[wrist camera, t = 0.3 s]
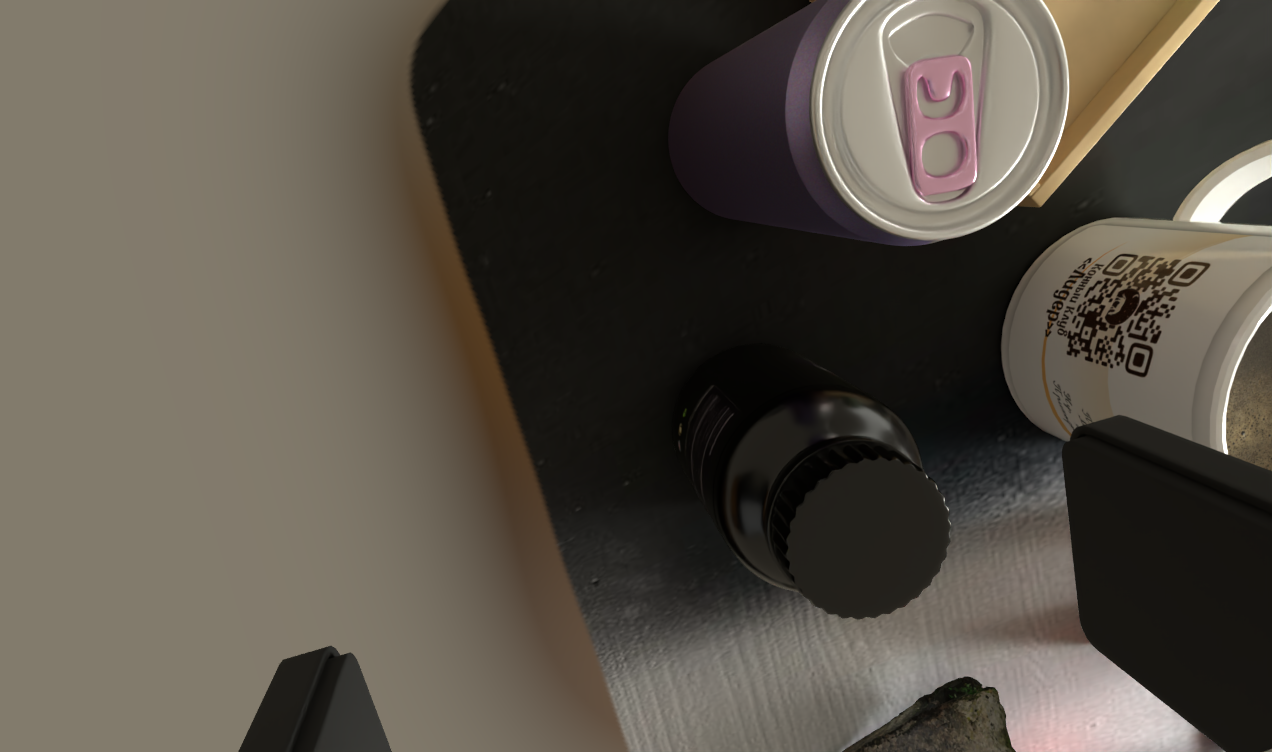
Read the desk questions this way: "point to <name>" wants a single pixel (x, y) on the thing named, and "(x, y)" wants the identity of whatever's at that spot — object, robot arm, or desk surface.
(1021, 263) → the desk surface
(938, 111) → the beverage can
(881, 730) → the rock
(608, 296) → the desk surface
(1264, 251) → the mug
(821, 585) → the supplement bottle
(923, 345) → the desk surface
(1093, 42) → the tray
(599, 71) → the desk surface
